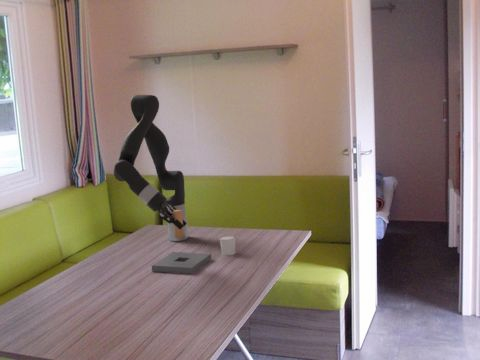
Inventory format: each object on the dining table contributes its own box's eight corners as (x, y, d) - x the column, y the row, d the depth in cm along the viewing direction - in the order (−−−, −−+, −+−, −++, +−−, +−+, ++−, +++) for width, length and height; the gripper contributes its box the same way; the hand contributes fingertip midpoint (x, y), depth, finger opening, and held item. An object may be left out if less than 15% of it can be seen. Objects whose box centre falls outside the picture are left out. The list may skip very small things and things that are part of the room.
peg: (177, 235, 231) (175, 209, 230) (185, 236, 230) (183, 209, 228) (173, 238, 228) (171, 211, 226) (181, 238, 227) (179, 211, 225)
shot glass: (236, 255, 239) (235, 239, 238) (220, 256, 240) (218, 240, 238) (236, 250, 246) (235, 235, 245) (221, 251, 246) (219, 236, 245)
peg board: (173, 257, 243) (173, 251, 243) (211, 259, 236) (210, 253, 236) (152, 271, 227) (151, 265, 226) (192, 274, 220) (191, 267, 219)
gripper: (151, 194, 221) (184, 224, 220) (163, 188, 234) (194, 215, 234) (140, 208, 223) (172, 237, 222) (153, 200, 236) (183, 228, 236)
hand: (183, 226), depth 228 cm, fingers closed on peg, 3 cm apart
